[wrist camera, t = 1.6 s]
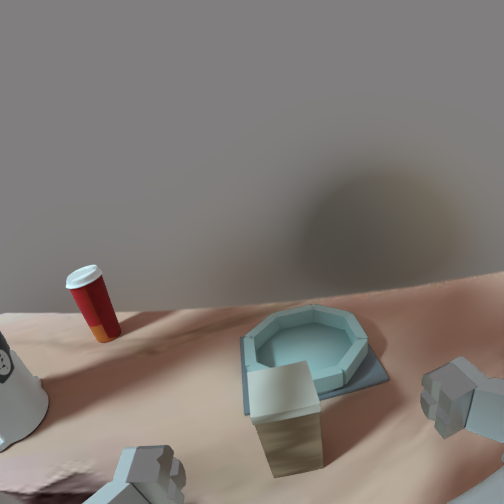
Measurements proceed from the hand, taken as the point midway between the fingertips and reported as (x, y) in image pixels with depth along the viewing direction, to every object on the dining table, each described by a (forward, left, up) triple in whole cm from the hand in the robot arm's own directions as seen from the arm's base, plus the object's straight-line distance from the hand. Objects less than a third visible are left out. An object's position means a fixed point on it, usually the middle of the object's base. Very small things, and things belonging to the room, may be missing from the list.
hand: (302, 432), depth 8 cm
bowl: (+3, +27, -21) cm, 34 cm away
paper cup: (-33, +43, -22) cm, 58 cm away
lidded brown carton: (-1, +12, -21) cm, 25 cm away
